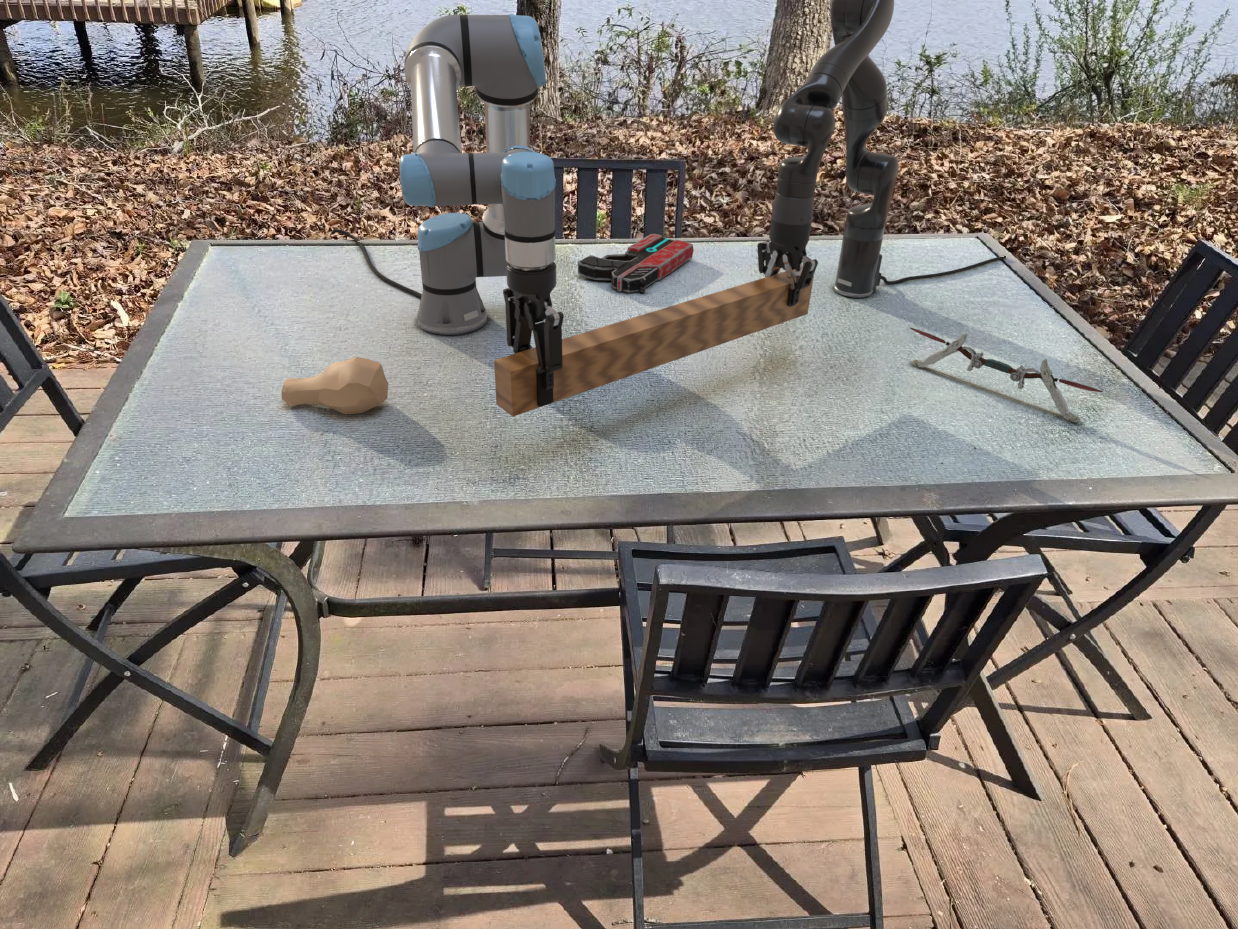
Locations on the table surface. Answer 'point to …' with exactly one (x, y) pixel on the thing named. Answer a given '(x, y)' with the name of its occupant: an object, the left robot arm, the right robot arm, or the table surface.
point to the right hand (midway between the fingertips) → (780, 300)
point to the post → (649, 341)
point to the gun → (638, 263)
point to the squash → (341, 387)
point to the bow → (1015, 375)
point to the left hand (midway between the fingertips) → (535, 396)
